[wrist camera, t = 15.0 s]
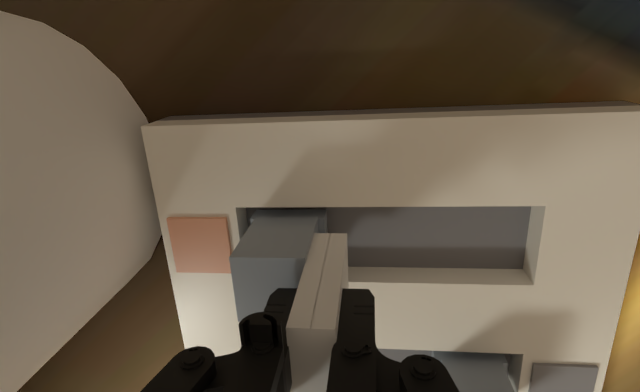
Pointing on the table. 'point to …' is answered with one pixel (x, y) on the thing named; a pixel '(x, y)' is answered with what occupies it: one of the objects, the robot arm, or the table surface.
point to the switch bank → (423, 222)
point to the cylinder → (64, 193)
